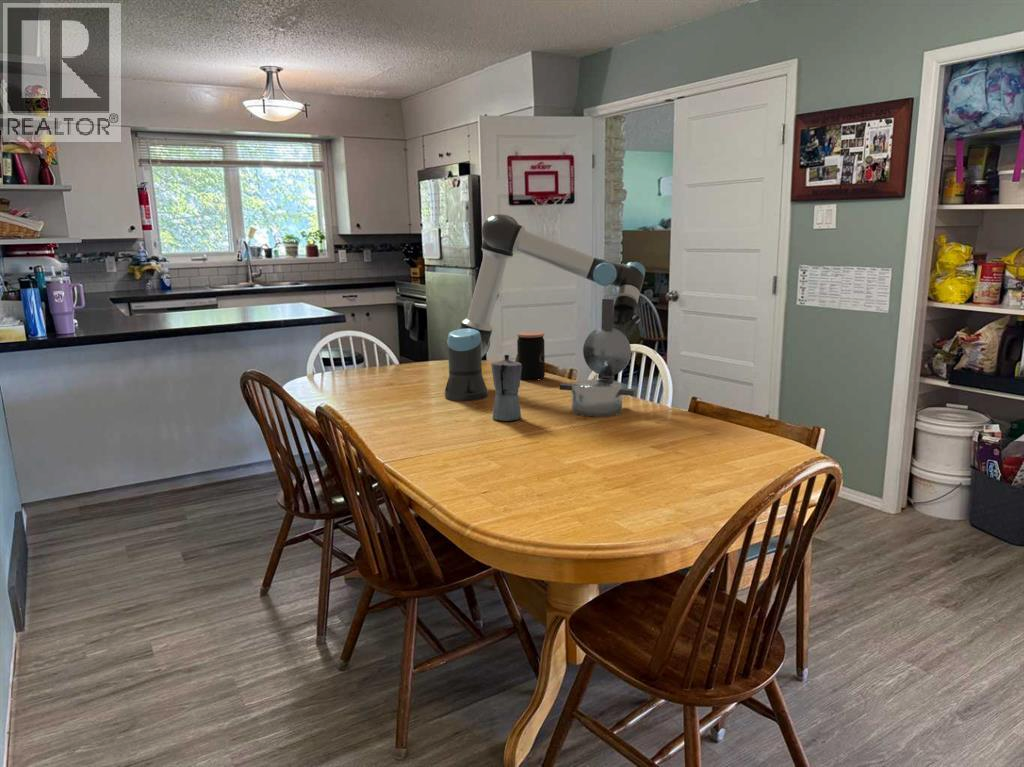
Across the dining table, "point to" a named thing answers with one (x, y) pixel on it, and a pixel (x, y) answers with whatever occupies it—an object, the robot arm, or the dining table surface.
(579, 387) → the pot
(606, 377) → the lid
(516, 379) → the moka pot
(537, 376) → the coffee jar
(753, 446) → the dining table surface
